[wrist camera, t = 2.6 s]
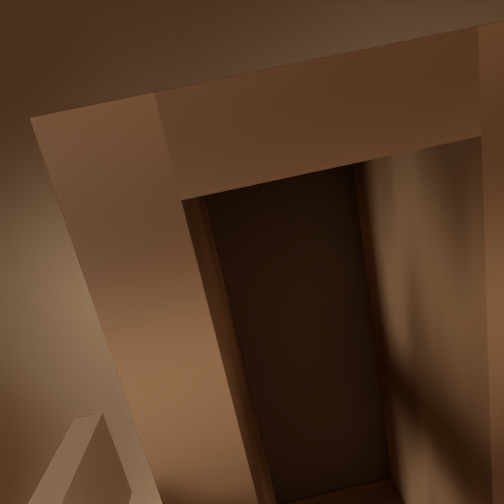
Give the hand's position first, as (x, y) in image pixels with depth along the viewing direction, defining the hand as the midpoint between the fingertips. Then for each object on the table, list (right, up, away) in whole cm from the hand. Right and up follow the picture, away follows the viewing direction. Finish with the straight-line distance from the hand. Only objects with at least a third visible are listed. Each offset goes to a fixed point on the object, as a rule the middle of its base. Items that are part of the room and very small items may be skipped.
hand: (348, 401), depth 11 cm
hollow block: (-1, +1, +3) cm, 3 cm away
